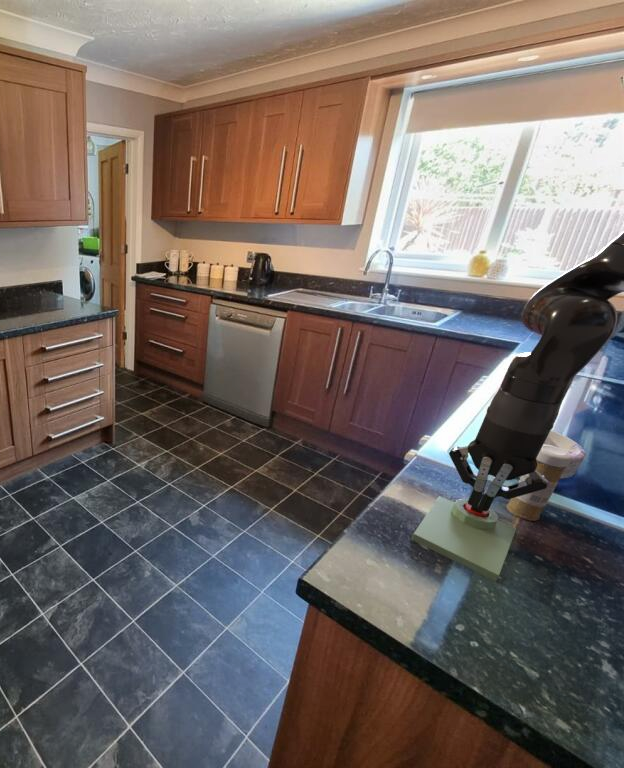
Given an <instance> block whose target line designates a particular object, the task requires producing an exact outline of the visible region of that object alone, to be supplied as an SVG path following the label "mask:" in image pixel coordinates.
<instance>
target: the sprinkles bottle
mask: <svg viewBox="0 0 624 768" xmlns="http://www.w3.org/2000/svg"><path fill="white" fill-rule="evenodd" d="M571 459H572V455H571V454H570V453H568V452H567V451H565V450H563V449H561V448H558V447H555V446H551V445H545V444H543V446H542V448H541V450H540V452H539V454H538V456H537V458H536V461H537V467H536V470H537V471H538V472H539V473H540V474H541V475H542V476H546V477H547V478H548V479H549V482H548V485H547V488H546V489H543V490H539V491H536V492H532V493H529V494H525V495H522V496H518V497H515V498H511V499H509V502H508V503H507V504H506V506H505V507H506V509H507V511H508V512H509V513H511V514H512V515H514V516H515V517H517V518H520V519H522V520H525V521H531V522H536V521H538V520H539V519H540V518H541V514H542V512H543V510H544V508H545V507H546V506H547V504H548V502H549V500H550V498H551V497H552V495H553V493H554V492H555V489H556V487H557V485H558V483H559V481H560V477H561V475H562V473H563V471H564V469H565V468H566V467H567V466H568V465H569V463H570V461H571ZM527 476H529V474H526V475H524V476H521V478H519V480H518V482H517V483H519V482H523V481H525V479H526V477H527Z"/></svg>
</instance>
